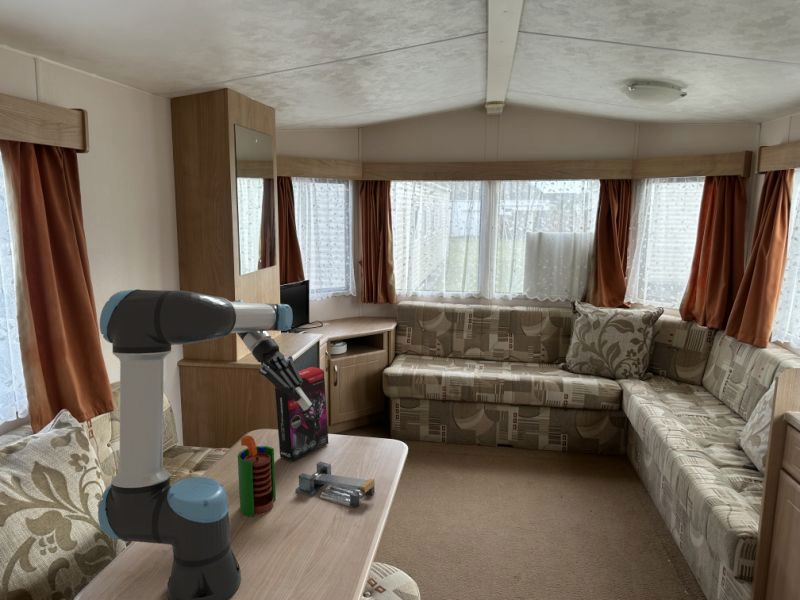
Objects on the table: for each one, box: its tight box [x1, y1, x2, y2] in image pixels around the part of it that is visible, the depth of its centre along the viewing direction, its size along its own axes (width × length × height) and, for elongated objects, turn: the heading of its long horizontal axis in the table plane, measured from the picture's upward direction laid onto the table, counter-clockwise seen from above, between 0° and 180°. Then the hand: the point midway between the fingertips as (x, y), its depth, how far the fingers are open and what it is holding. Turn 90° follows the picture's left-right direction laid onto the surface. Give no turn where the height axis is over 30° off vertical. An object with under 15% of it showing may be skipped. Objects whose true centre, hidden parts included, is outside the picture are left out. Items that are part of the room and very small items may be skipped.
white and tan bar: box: [310, 470, 376, 494], centre depth 161 cm, size 5×2×20 cm
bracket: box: [295, 461, 375, 509], centre depth 162 cm, size 11×20×5 cm, turn 61°
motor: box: [237, 435, 277, 518], centre depth 153 cm, size 10×9×20 cm
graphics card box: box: [274, 366, 329, 462], centre depth 187 cm, size 17×7×27 cm, turn 143°
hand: (308, 407), depth 163 cm, fingers closed
